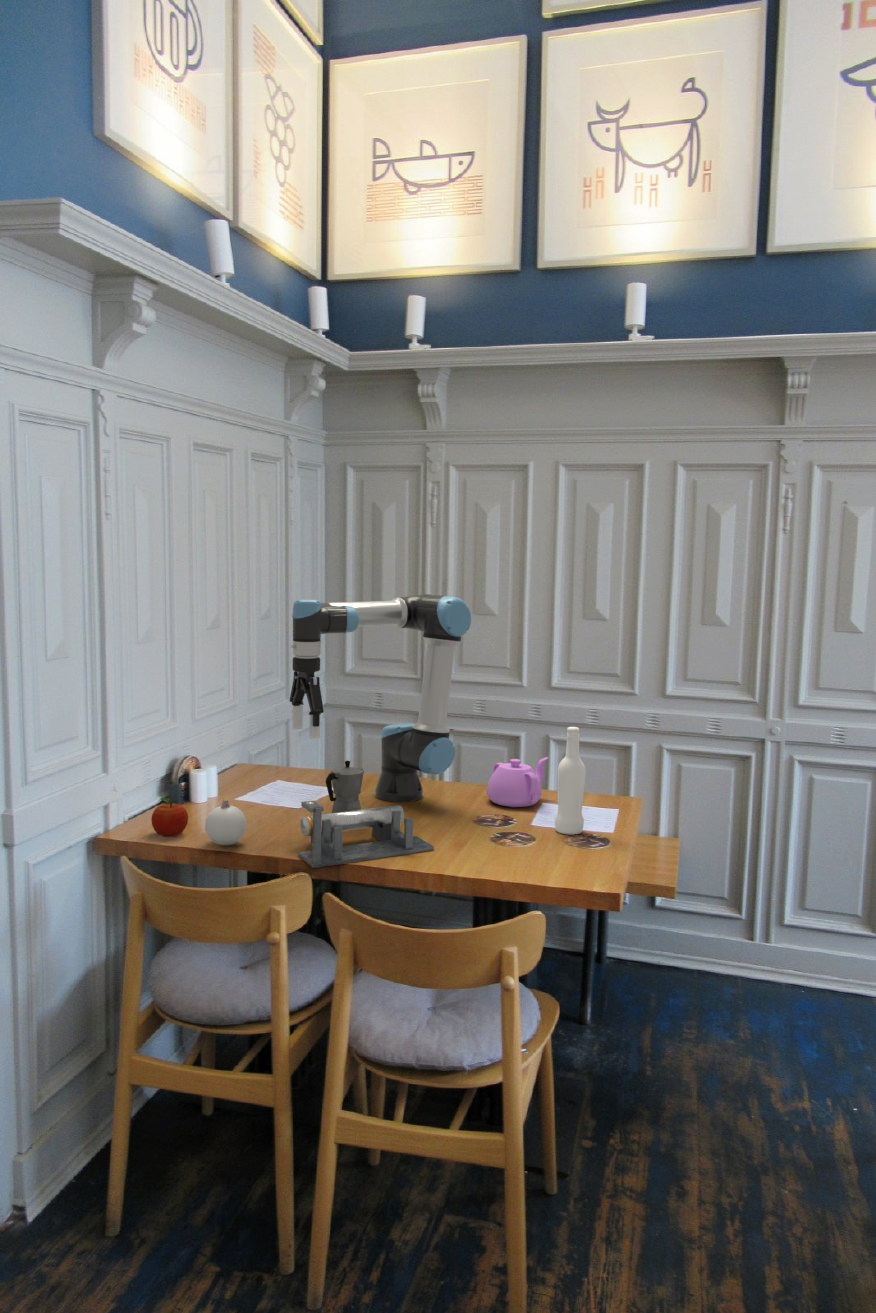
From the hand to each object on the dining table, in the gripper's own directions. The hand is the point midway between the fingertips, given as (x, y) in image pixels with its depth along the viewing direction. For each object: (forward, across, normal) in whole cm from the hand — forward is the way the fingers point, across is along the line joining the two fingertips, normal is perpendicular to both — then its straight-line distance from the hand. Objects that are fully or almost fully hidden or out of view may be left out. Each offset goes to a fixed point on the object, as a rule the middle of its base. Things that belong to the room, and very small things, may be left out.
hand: (305, 733), depth 261 cm
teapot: (+28, -3, +72) cm, 78 cm away
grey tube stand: (+27, +25, +8) cm, 38 cm away
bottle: (+28, +29, +68) cm, 79 cm away
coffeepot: (+28, -2, +12) cm, 30 cm away
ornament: (+27, +4, -24) cm, 36 cm away
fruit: (+27, -9, -35) cm, 45 cm away
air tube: (+24, +15, +8) cm, 29 cm away
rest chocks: (+27, +15, +8) cm, 32 cm away
